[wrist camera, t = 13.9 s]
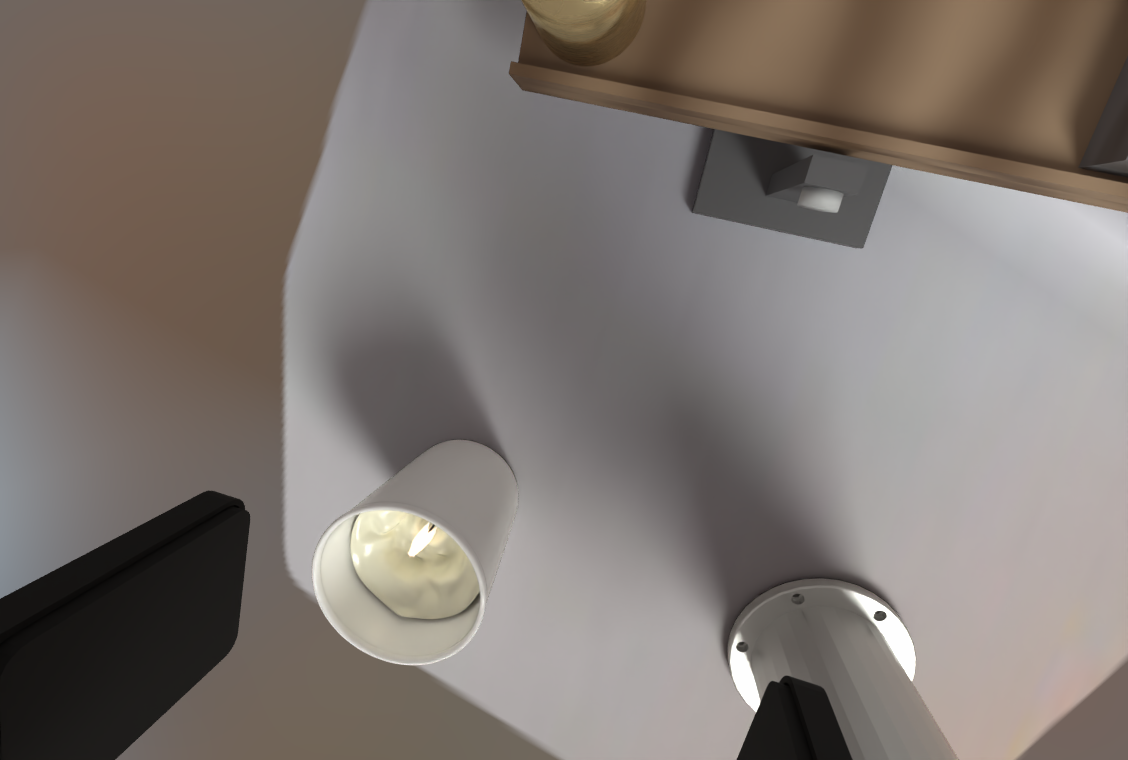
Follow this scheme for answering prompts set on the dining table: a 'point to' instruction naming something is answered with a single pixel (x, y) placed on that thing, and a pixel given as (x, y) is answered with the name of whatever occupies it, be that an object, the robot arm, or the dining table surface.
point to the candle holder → (419, 555)
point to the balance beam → (884, 83)
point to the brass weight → (587, 27)
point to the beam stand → (790, 188)
